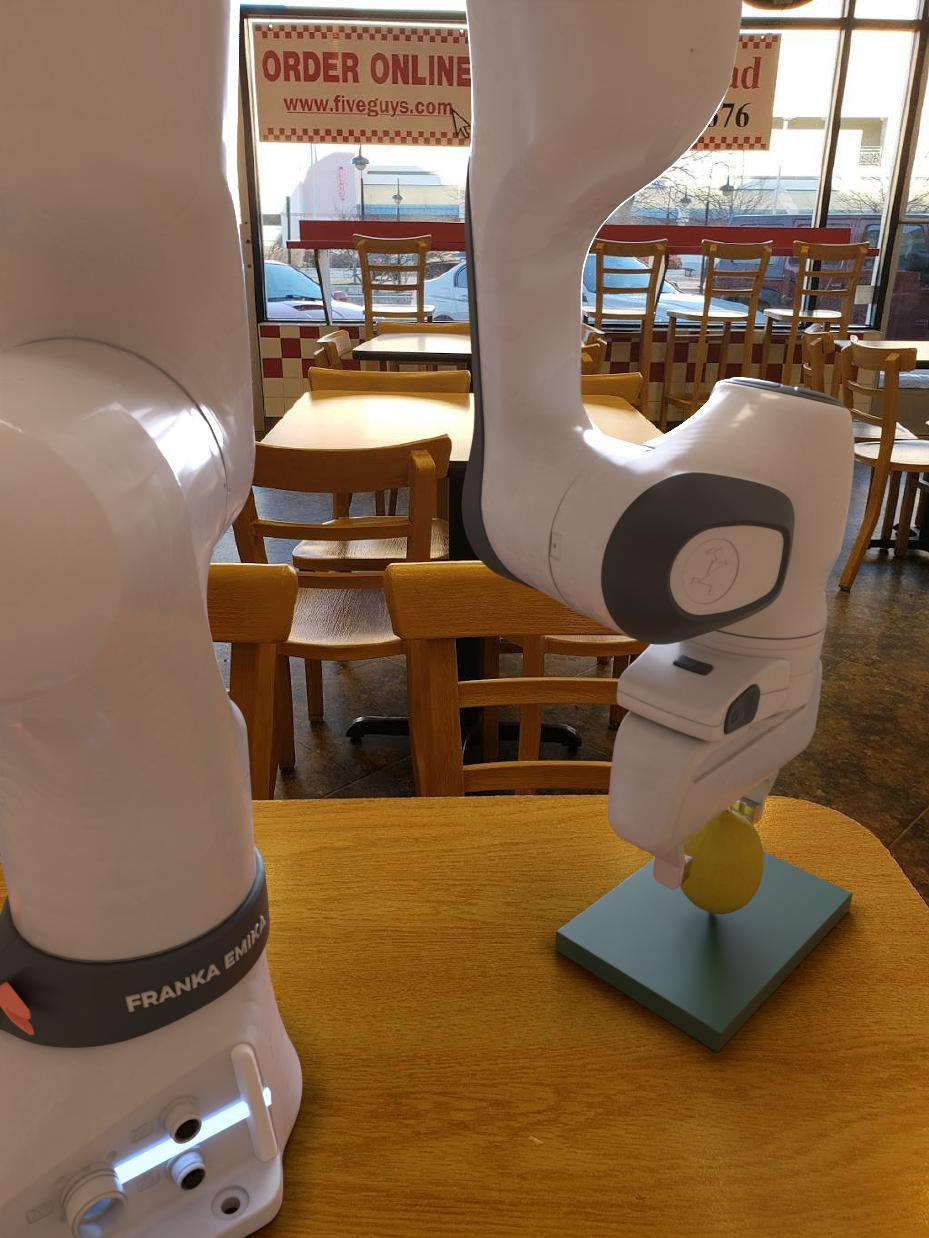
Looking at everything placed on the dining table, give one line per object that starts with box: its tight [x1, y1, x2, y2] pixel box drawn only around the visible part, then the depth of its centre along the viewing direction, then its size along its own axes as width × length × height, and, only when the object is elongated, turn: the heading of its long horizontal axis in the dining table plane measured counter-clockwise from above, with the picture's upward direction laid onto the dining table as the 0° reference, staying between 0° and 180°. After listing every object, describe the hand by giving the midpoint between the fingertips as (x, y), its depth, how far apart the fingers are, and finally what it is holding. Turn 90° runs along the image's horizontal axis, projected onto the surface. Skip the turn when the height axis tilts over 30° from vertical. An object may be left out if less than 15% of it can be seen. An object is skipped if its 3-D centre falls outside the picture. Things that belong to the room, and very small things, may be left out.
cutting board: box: [554, 851, 853, 1053], centre depth 63 cm, size 18×12×2 cm, turn 136°
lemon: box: [680, 808, 764, 914], centre depth 62 cm, size 6×6×8 cm
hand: (709, 849), depth 61 cm, fingers open, 8 cm apart
